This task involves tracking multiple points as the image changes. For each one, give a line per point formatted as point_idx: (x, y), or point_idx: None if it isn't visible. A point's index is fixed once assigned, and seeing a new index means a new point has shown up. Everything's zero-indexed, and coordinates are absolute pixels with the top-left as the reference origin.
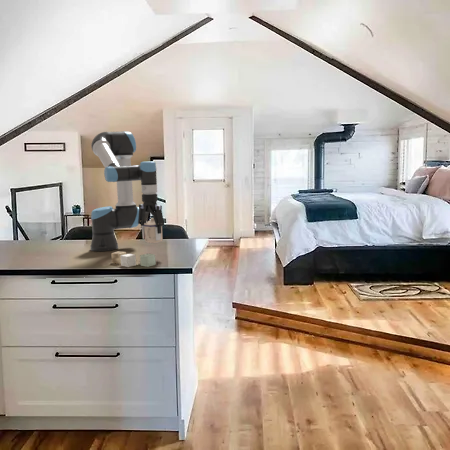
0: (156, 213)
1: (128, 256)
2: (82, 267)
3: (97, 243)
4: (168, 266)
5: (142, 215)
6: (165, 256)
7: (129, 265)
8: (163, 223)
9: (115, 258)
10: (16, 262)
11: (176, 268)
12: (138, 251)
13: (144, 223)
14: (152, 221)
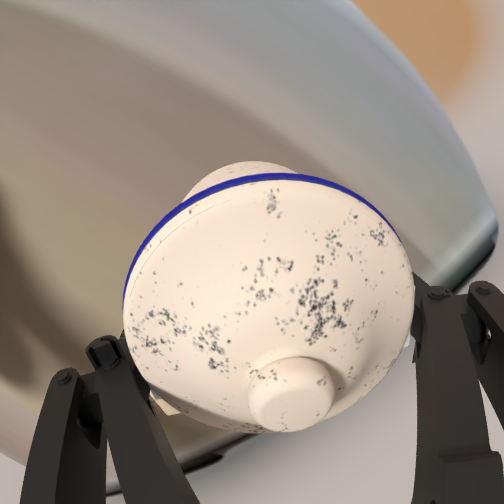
0: (480, 459)
1: None
2: (173, 448)
3: None
4: (432, 260)
5: (78, 482)
6: (229, 117)
7: None
8: (498, 301)
9: None
10: (26, 459)
11: (471, 258)
12: (2, 166)
13: (212, 426)
14: (339, 398)
